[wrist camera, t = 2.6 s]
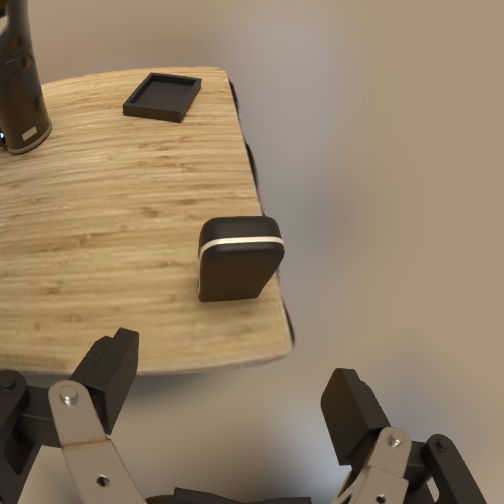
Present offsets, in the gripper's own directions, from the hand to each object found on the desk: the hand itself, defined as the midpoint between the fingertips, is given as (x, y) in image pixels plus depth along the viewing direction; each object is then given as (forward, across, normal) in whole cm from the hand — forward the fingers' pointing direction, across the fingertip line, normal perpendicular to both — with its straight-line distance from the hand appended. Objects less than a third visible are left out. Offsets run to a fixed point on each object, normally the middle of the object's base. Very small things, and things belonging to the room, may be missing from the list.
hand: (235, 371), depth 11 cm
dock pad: (+44, +18, -18) cm, 51 cm away
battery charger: (+22, 0, +5) cm, 22 cm away
